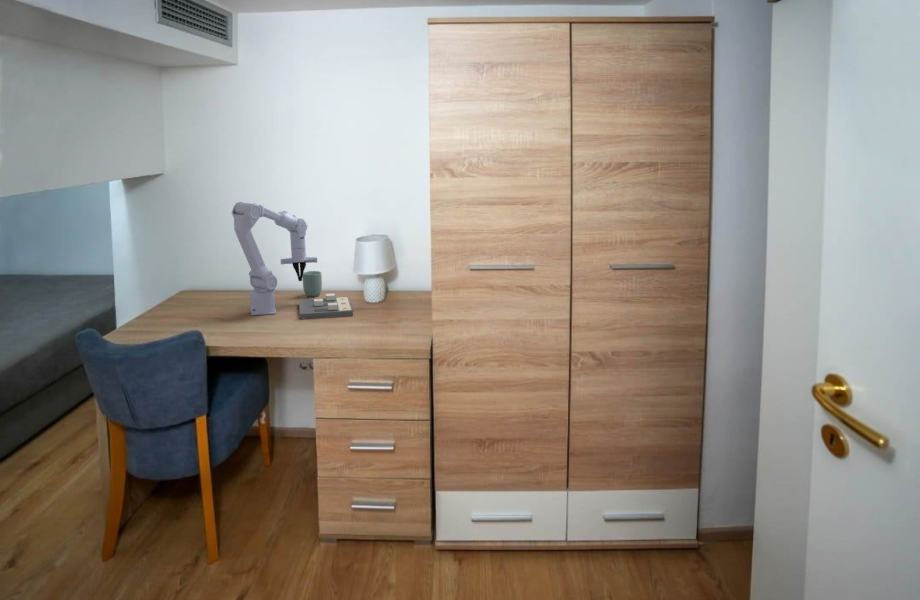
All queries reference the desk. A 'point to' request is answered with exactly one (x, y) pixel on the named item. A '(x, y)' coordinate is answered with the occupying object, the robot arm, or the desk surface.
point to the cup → (312, 283)
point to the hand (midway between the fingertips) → (300, 280)
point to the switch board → (325, 308)
